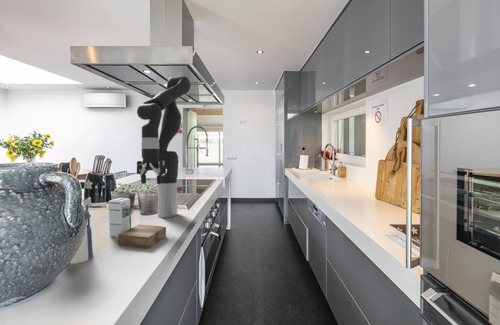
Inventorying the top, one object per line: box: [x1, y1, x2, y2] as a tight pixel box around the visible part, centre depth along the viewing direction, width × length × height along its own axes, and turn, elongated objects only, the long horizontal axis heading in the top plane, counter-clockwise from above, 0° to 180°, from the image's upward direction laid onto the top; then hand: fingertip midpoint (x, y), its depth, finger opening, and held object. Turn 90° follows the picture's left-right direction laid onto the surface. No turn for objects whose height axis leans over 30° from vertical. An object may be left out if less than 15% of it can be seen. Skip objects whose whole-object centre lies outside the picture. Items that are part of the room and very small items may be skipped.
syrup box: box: [108, 197, 132, 238], centre depth 104 cm, size 6×6×14 cm
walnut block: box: [117, 224, 167, 249], centre depth 97 cm, size 12×12×4 cm
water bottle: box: [70, 179, 94, 265], centre depth 81 cm, size 8×9×25 cm
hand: (151, 183), depth 117 cm, fingers open, 8 cm apart
